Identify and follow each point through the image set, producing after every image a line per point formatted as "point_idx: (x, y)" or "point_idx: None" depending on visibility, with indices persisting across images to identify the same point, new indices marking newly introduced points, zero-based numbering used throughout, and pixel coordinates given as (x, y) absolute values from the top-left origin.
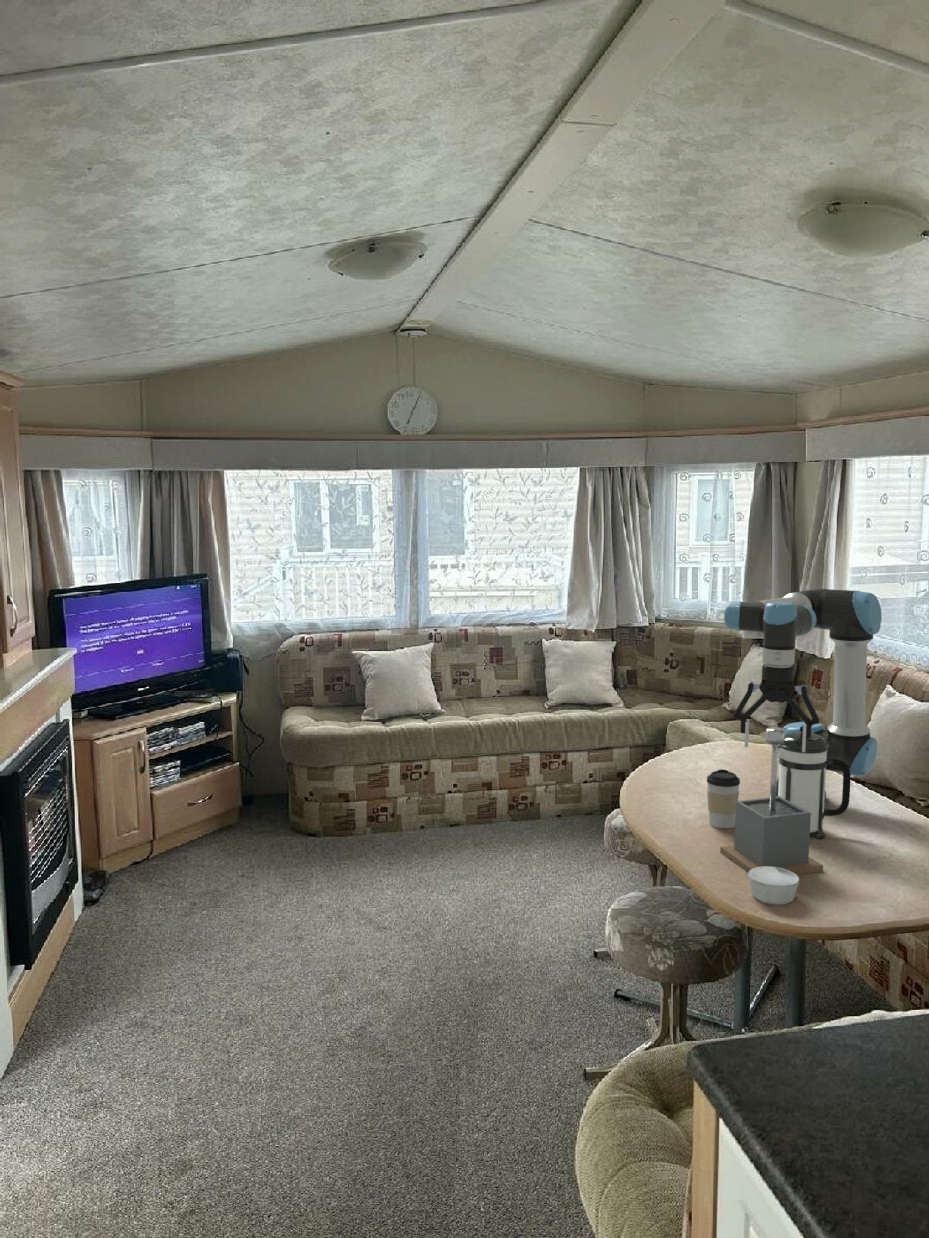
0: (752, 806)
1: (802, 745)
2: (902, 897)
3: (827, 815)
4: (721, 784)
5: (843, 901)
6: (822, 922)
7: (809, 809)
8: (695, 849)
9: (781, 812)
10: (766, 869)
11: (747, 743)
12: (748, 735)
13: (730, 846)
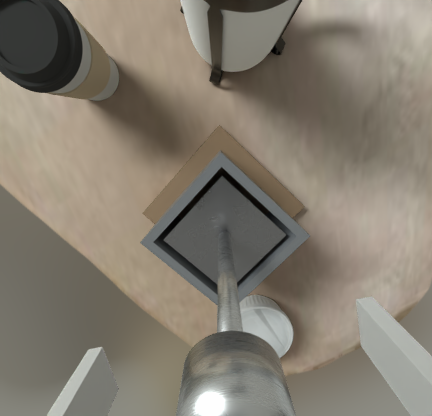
0: (180, 241)
1: (381, 372)
2: (413, 239)
3: None
4: (48, 87)
5: (339, 289)
6: (321, 353)
7: (266, 47)
8: (108, 218)
9: (247, 247)
10: (244, 322)
11: (109, 406)
12: (82, 413)
13: (155, 203)
